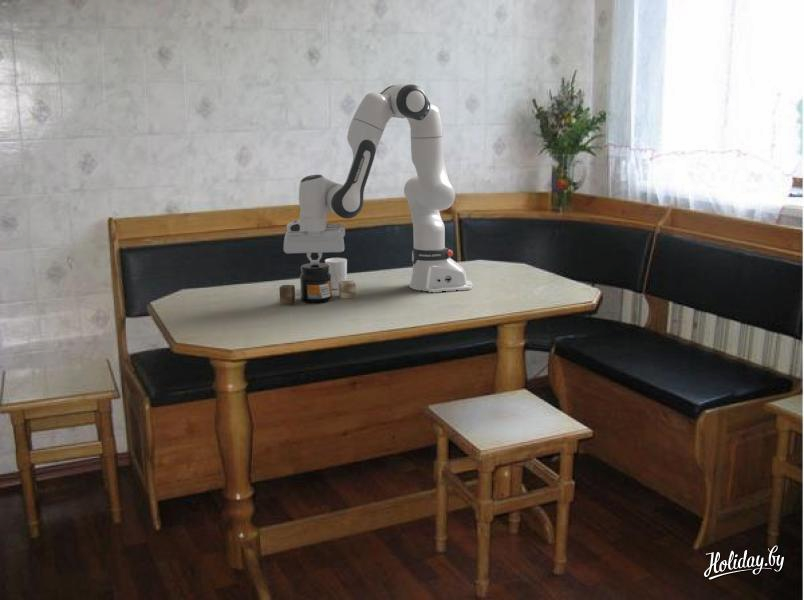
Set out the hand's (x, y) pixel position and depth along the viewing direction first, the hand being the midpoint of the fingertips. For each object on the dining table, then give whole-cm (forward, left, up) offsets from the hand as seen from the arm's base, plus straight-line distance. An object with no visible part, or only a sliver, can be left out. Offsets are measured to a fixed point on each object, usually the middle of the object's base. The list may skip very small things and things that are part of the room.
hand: (314, 265), depth 285 cm
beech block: (-11, -4, -12) cm, 17 cm away
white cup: (-7, -18, -12) cm, 23 cm away
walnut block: (+9, +3, -12) cm, 16 cm away
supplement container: (0, 0, -12) cm, 12 cm away
